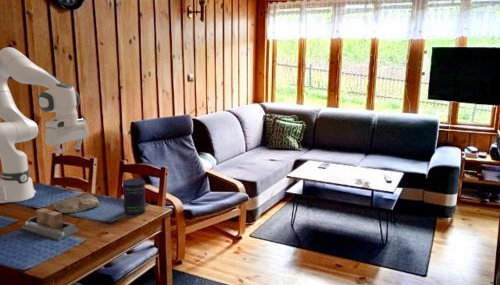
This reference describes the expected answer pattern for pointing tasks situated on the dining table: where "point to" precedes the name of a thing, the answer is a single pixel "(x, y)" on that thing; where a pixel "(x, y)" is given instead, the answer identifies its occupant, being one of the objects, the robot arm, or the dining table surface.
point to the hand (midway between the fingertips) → (69, 151)
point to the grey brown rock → (76, 204)
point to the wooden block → (49, 218)
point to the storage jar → (134, 196)
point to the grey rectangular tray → (49, 229)
